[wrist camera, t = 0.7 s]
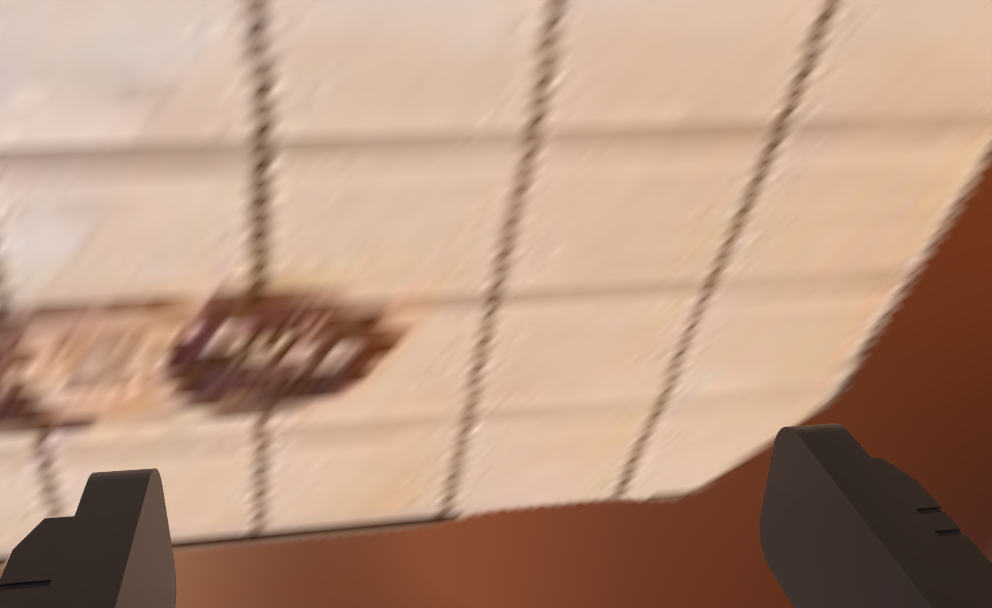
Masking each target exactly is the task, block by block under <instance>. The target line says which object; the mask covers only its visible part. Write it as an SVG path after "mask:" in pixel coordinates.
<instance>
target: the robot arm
mask: <svg viewBox="0 0 992 608" xmlns="http://www.w3.org/2000/svg"><path fill="white" fill-rule="evenodd" d="M760 539H761V545H762V549H763V553H764V556H765V559H766V561H767V564H768V565H769V567H770V569H771V570H772V572H773V574H774V576H775V577H776V579H777V581H778V582H779V584H780V586H781V587H782V589H783V591H784V592H785V594H786V596H787V597H788V599H789V601H790V602H791V604H792V606H793V607H794V608H992V563H991V562H990V561H989V560H988V559H987V558H986V557H985V555H984V554H983V553H982V552H981V551H980V550H979V549H978V548H977V547H976V545H975V544H974V543H973V542H972V541H971V540H970V539H969V538H968V537H967V536H966V534H964V535H961V533H960V528H959V527H958V526H957V525H956V523H955V522H954V521H953V520H952V519H951V518H950V517H949V516H948V515H947V513H946V512H941V510H940V506H939V505H938V504H937V502H936V501H935V500H934V499H933V498H932V497H931V496H930V495H929V494H928V493H927V491H926V490H925V489H924V488H923V487H922V486H921V485H920V484H919V483H918V481H917V480H915V479H914V478H912V477H911V476H909V475H908V474H906V473H904V472H903V471H901V470H899V469H898V468H896V467H895V466H893V465H892V464H890V463H889V462H887V461H885V460H884V459H882V458H871V457H870V456H869V455H868V454H867V452H866V451H865V450H864V449H863V448H862V447H861V446H860V444H859V443H858V442H857V441H856V440H855V439H854V437H853V436H852V435H851V434H850V433H849V432H848V430H847V429H846V428H845V427H843V426H842V425H840V424H837V423H836V424H821V425H807V426H792V427H784V428H782V429H781V430H780V431H779V432H778V434H777V436H776V439H775V443H774V448H773V453H772V458H771V463H770V469H769V474H768V479H767V484H766V490H765V495H764V500H763V505H762V511H761V516H760ZM175 605H176V574H175V564H174V558H173V551H172V544H171V538H170V532H169V525H168V519H167V512H166V506H165V500H164V493H163V487H162V481H161V477H160V474H159V471H158V470H157V469H156V468H155V469H141V470H126V471H112V472H97V473H92V474H91V475H90V477H89V479H88V481H87V484H86V486H85V489H84V492H83V495H82V497H81V500H80V503H79V506H78V508H77V511H76V514H75V516H72V517H59V518H46V519H44V520H43V521H42V522H41V523H40V524H39V525H38V526H36V527H35V528H34V529H33V530H32V531H31V532H30V533H29V534H28V535H27V536H26V537H25V538H24V539H23V540H22V541H21V542H20V543H19V544H18V545H17V546H16V547H15V548H14V549H13V551H12V553H11V555H10V558H9V560H8V562H7V565H6V567H5V569H4V572H3V574H2V576H1V578H0V608H175Z"/></svg>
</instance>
